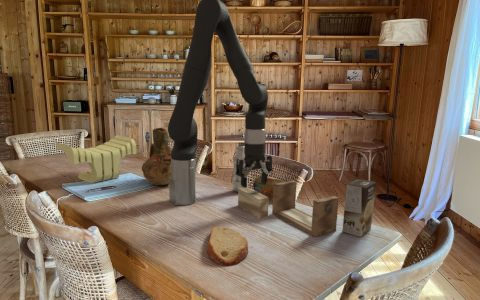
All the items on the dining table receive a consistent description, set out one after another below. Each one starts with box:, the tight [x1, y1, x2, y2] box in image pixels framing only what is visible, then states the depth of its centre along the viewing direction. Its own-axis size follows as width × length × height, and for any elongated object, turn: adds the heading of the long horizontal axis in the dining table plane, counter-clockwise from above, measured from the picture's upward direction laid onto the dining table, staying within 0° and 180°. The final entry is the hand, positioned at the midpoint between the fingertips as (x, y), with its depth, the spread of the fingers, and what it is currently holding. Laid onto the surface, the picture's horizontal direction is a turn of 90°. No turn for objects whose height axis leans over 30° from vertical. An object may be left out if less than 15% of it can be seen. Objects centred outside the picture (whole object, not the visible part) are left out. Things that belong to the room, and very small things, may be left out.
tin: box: [253, 176, 285, 200], centre depth 148 cm, size 15×3×8 cm, turn 56°
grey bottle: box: [231, 144, 249, 193], centre depth 153 cm, size 6×7×20 cm
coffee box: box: [342, 178, 377, 238], centre depth 117 cm, size 9×6×16 cm
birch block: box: [237, 186, 270, 219], centre depth 133 cm, size 4×14×7 cm, turn 31°
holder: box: [271, 180, 340, 237], centre depth 123 cm, size 9×23×11 cm, turn 33°
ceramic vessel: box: [141, 127, 172, 186], centre depth 160 cm, size 17×26×25 cm, turn 32°
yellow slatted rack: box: [55, 134, 137, 184], centre depth 168 cm, size 30×16×18 cm, turn 140°
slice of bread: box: [207, 226, 249, 267], centre depth 104 cm, size 18×18×4 cm
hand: (254, 185), depth 132 cm, fingers open, 8 cm apart
